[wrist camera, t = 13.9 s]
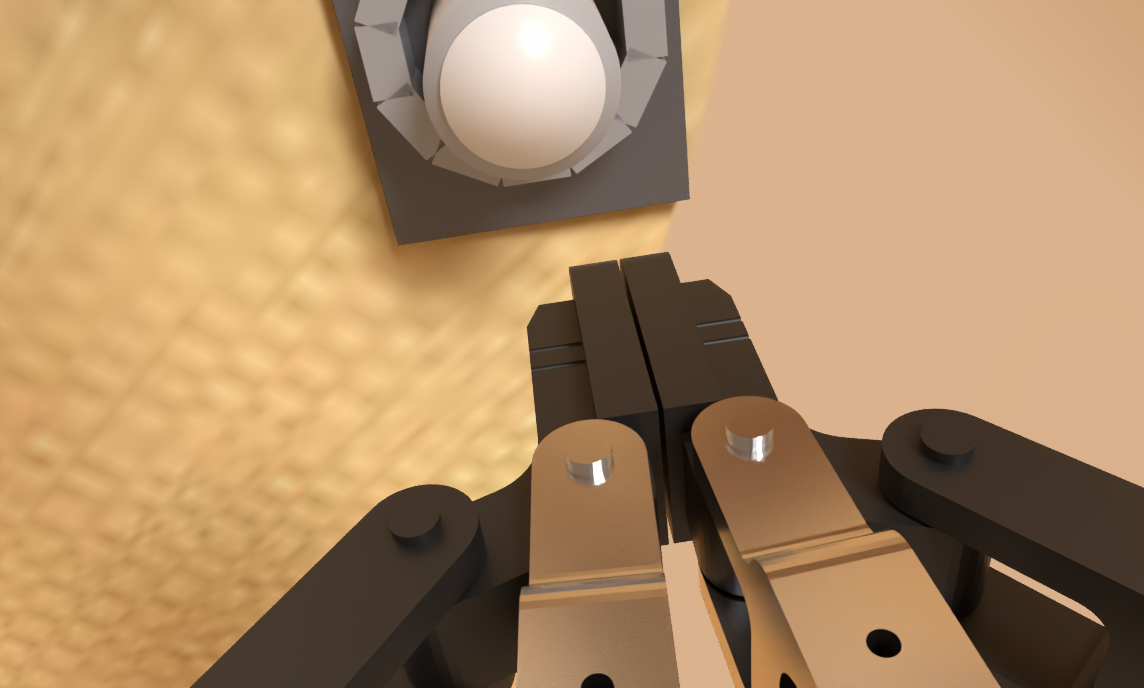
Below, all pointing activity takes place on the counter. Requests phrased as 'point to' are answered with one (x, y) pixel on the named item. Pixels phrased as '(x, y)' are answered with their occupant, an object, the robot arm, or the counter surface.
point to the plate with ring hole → (484, 202)
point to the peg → (520, 83)
